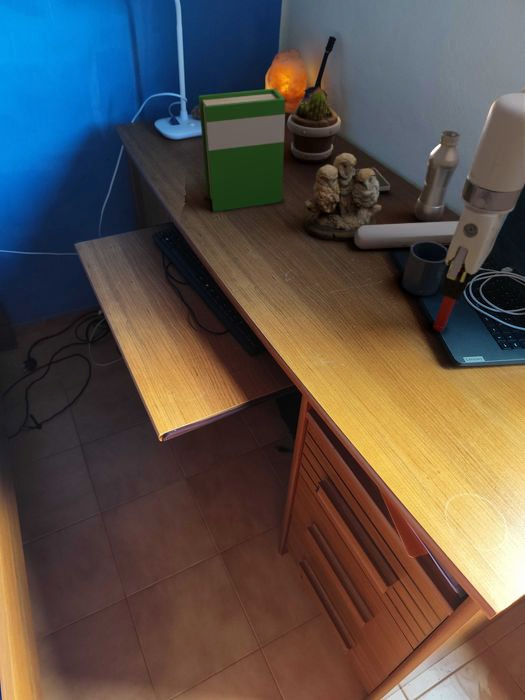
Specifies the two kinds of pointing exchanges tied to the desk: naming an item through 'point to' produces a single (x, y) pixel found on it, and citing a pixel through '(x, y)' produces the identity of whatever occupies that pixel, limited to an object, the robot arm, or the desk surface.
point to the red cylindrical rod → (444, 312)
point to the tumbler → (424, 268)
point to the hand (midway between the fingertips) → (452, 291)
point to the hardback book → (243, 147)
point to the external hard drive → (383, 183)
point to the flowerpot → (313, 128)
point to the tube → (404, 234)
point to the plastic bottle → (438, 178)
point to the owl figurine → (342, 200)
